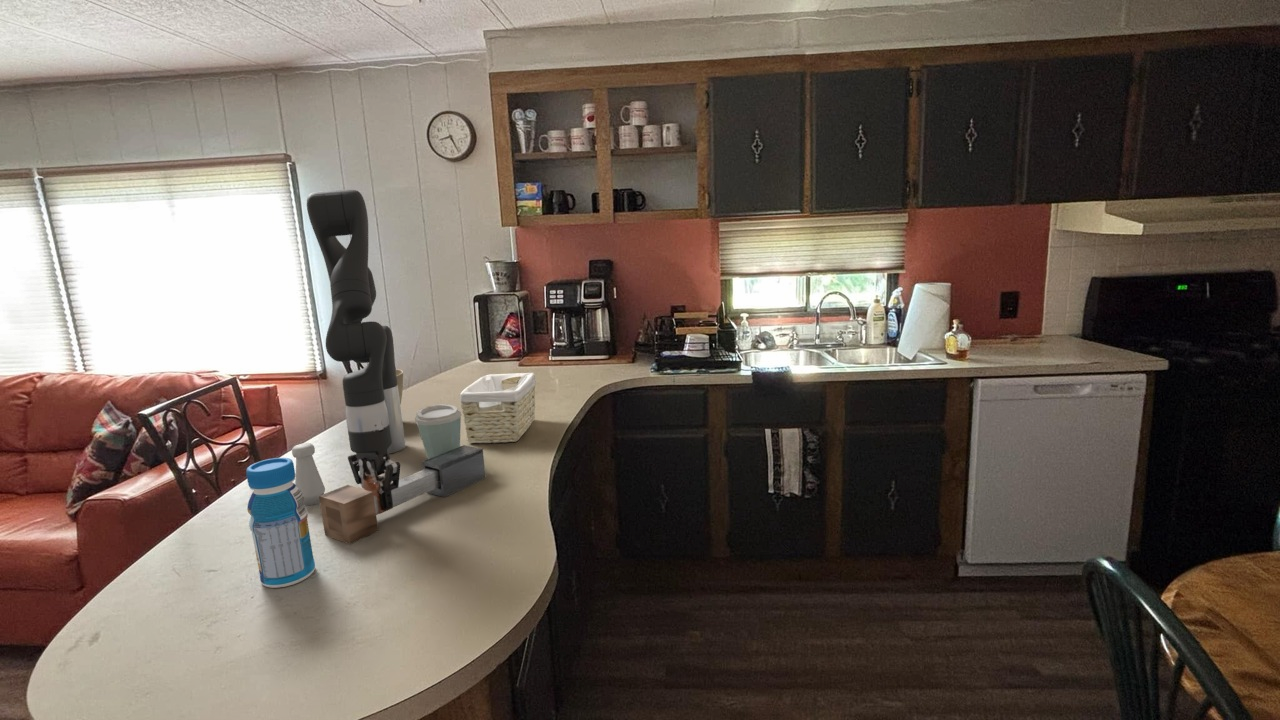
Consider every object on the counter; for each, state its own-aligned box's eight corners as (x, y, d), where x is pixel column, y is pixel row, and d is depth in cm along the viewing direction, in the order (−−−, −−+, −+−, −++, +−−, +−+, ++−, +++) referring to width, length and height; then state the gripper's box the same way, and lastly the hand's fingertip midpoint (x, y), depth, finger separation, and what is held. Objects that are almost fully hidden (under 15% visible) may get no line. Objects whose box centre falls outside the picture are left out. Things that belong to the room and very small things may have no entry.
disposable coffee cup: (475, 466, 155) (469, 407, 152) (435, 480, 148) (428, 418, 145) (452, 457, 162) (446, 400, 159) (412, 470, 155) (405, 410, 152)
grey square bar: (433, 481, 141) (430, 454, 140) (445, 484, 139) (442, 456, 138) (346, 518, 124) (342, 488, 123) (359, 523, 122) (354, 492, 120)
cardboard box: (353, 522, 127) (347, 484, 126) (378, 530, 123) (372, 491, 122) (325, 535, 122) (318, 495, 121) (350, 544, 118) (344, 503, 117)
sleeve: (467, 473, 151) (463, 445, 149) (485, 478, 147) (482, 448, 146) (425, 492, 141) (421, 461, 139) (444, 497, 138) (441, 466, 136)
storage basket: (488, 420, 194) (483, 373, 192) (540, 418, 193) (537, 371, 190) (462, 446, 171) (456, 393, 168) (522, 445, 170) (517, 391, 167)
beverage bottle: (277, 595, 102) (256, 477, 98) (249, 582, 107) (228, 468, 103) (327, 570, 109) (309, 459, 105) (299, 559, 114) (281, 452, 110)
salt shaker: (332, 498, 140) (323, 441, 137) (309, 509, 135) (300, 450, 132) (314, 495, 142) (305, 439, 140) (290, 505, 137) (281, 447, 135)
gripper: (329, 425, 125) (341, 507, 128) (374, 435, 117) (386, 521, 121) (363, 415, 131) (374, 493, 135) (408, 423, 123) (418, 506, 127)
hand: (379, 506), depth 128 cm, fingers closed on grey square bar, 4 cm apart
